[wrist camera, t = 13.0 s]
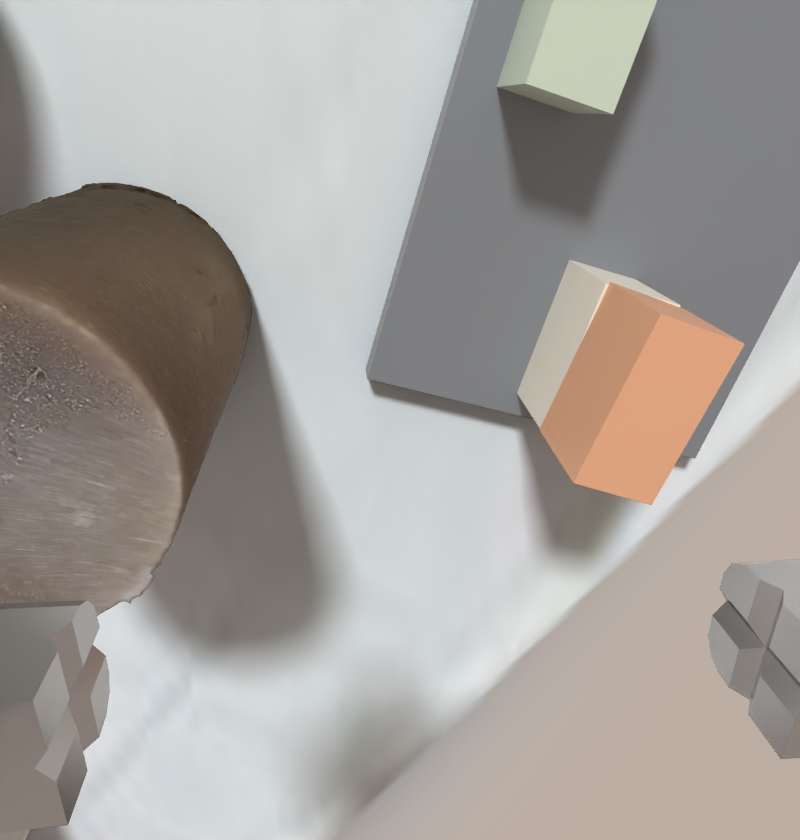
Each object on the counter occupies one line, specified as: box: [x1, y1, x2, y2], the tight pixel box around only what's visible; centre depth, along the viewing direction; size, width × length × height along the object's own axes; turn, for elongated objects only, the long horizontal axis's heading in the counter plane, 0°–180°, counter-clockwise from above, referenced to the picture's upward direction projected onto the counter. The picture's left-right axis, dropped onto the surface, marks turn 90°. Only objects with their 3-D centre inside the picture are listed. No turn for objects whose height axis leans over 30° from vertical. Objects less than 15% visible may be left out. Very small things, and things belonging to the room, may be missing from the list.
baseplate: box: [366, 0, 800, 458], centre depth 27 cm, size 20×16×1 cm
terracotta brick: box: [539, 282, 745, 505], centre depth 23 cm, size 6×3×4 cm, turn 160°
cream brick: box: [517, 260, 681, 428], centre depth 27 cm, size 6×3×4 cm, turn 164°
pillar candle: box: [0, 183, 252, 616], centre depth 21 cm, size 10×10×15 cm
